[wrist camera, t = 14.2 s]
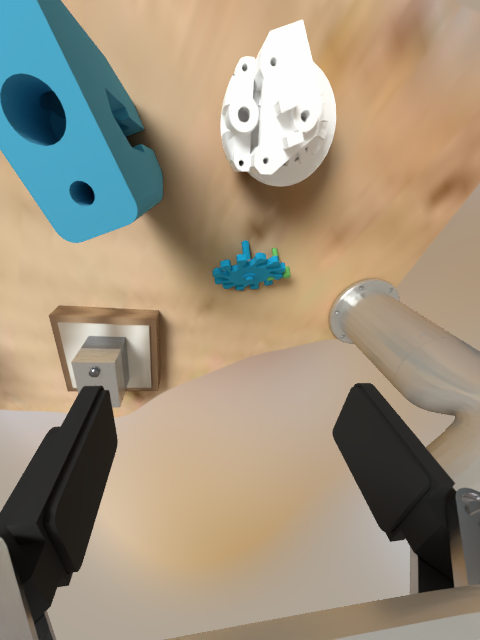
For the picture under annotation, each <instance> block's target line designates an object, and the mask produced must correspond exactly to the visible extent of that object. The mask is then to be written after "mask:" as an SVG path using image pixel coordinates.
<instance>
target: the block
mask: <svg viewBox="0 0 480 640" xmlns="http://www.w3.org/2000/svg"><path fill="white" fill-rule="evenodd" d="M142 130H144V127H143V125H142V122H141V120H140V117H139V115H138V113H137V110H136V108H135V105H134V104H133V102H132V100H131V99H130V97H129V95H128V94H127V92H126V90H125V89H124V87H123V86H122V84H121V82H120V81H119V79H118V77H117V76H116V74H115V73H114V71H113V69H112V68H111V66H110V64H109V63H108V61H107V59H106V58H105V56H104V55H103V54H102V53H101V51H100V50H99V49H98V48H97V46H96V45H95V44H94V42H93V41H92V40H91V39H90V37H89V36H88V35H87V33H86V32H85V31H84V30H83V28H82V27H81V26H80V25H79V23H78V22H77V21H76V19H75V18H74V17H73V16H72V14H71V13H70V12H69V10H68V9H67V8H66V7H65V5H64V4H63V3H62V2H61V0H0V150H1V151H2V153H3V154H4V156H5V157H6V159H7V160H8V162H9V163H10V164H11V166H12V167H13V169H14V170H15V172H16V173H17V175H18V176H19V178H20V179H21V181H22V182H23V184H24V185H25V187H26V188H27V189H28V191H29V192H30V194H31V195H32V197H33V198H34V200H35V201H36V203H37V204H38V206H39V207H40V209H41V210H42V212H43V213H44V214H45V216H46V217H47V219H48V220H49V222H50V223H51V225H52V226H53V228H54V229H55V231H56V232H57V233H58V234H59V235H60V236H61V237H62V238H63V239H65V240H67V241H69V242H73V243H79V242H83V241H86V240H89V239H91V238H94V237H97V236H99V235H102V234H105V233H108V232H110V231H113V230H116V229H118V228H121V227H124V226H127V225H129V224H131V223H132V222H134V221H135V220H136V219H138V218H139V217H140V216H142V215H143V214H144V213H146V212H147V211H148V210H150V209H151V208H152V207H154V206H155V205H156V204H158V203H159V202H160V201H161V200H162V198H163V174H162V171H161V168H160V166H159V163H158V161H157V158H156V156H155V154H154V151H153V150H152V149H150V148H148V147H146V146H144V145H142V144H139V145H137V146H134V147H131V145H130V144H129V142H128V140H127V139H126V137H127V136H129V135H132V134H135V133H137V132H140V131H142Z"/></svg>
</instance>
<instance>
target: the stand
mask: <svg viewBox="0 0 480 640" xmlns="http://www.w3.org/2000/svg"><path fill="white" fill-rule="evenodd" d="M49 318H50V322H51V326H52V330H53V334H54V338H55V342H56V346H57V350H58V354H59V358H60V362H61V366H62V370H63V374H64V378H65V382H66V386H67V390H68V391H78V390H77V386H76V381H75V377H74V372H73V368H72V364H71V362H72V360H73V359H74V357H75V356H76V354H77V353H78V351H79V350H80V348H81V347H82V345H83V344H84V342H85V341H86V339H87V338H88V336H107V337H126V345H127V355H128V366H129V377H130V379H129V382H128V385H127V388H126V391H158V388H159V382H160V347H159V311H154V310H135V309H115V308H96V307H76V306H58V307H57V308H56V309H55V310H54V311H53V312H52V313H51V314H50V315H49Z"/></svg>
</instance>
